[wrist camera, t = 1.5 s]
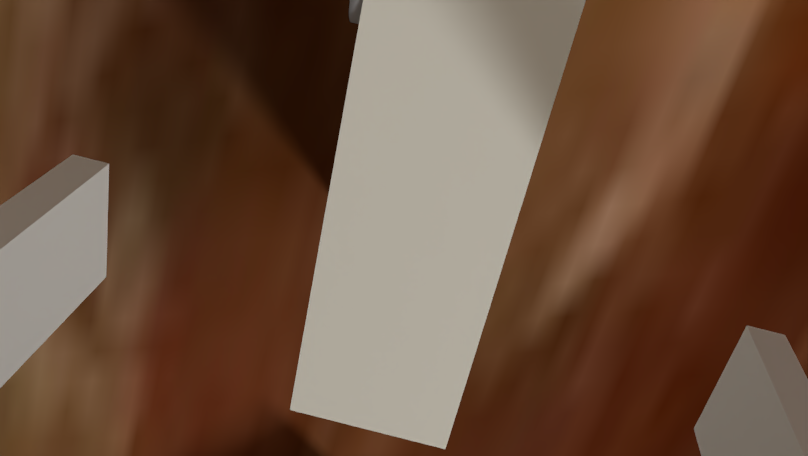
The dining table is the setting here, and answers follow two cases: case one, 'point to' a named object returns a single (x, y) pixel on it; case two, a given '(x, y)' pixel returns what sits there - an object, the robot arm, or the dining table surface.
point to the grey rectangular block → (425, 203)
